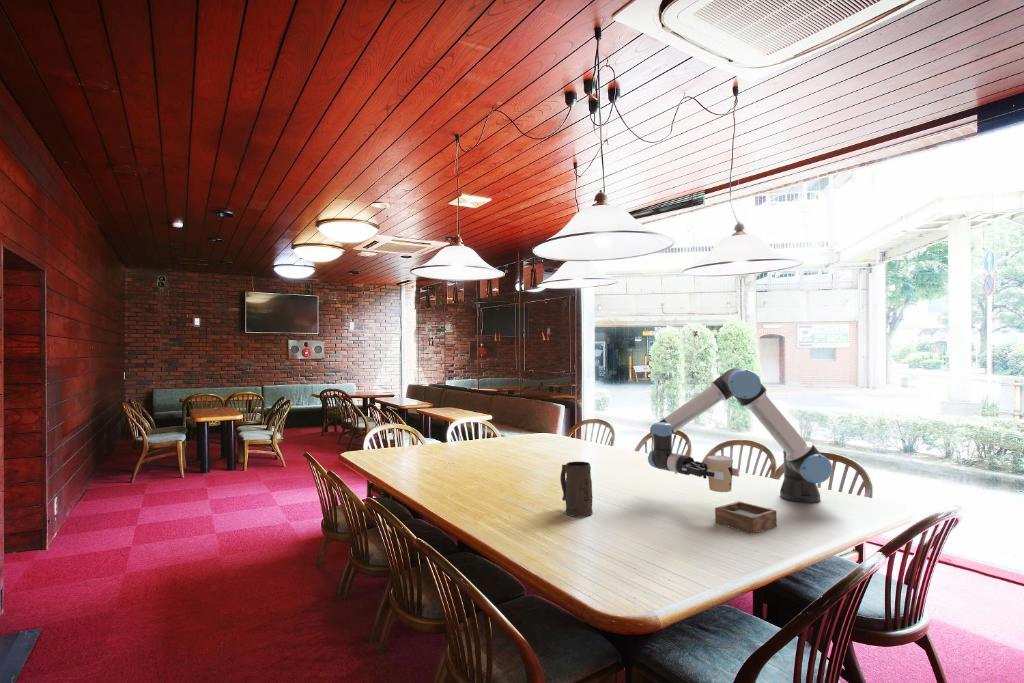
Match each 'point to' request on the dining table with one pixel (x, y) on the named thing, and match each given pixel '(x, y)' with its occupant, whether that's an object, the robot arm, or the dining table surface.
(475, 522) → the dining table surface
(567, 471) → the beer stein
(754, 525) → the wooden tray
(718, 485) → the coffee cup
